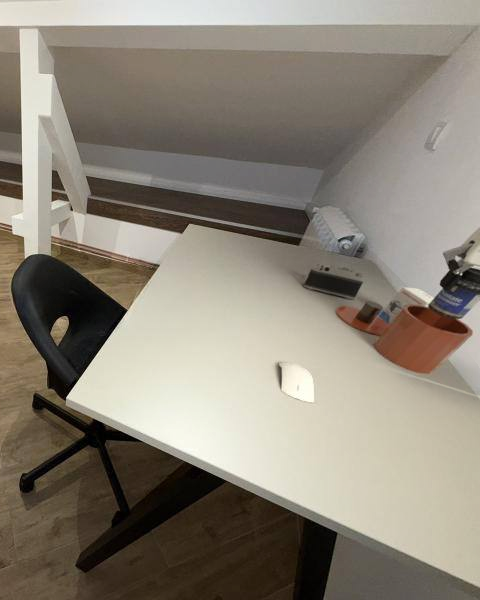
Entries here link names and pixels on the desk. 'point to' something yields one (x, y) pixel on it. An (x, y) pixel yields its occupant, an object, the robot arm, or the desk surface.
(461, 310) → the pill bottle
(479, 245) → the robot arm
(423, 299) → the ink box
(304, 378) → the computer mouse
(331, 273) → the camera
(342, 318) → the lid
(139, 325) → the desk surface
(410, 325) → the pot
